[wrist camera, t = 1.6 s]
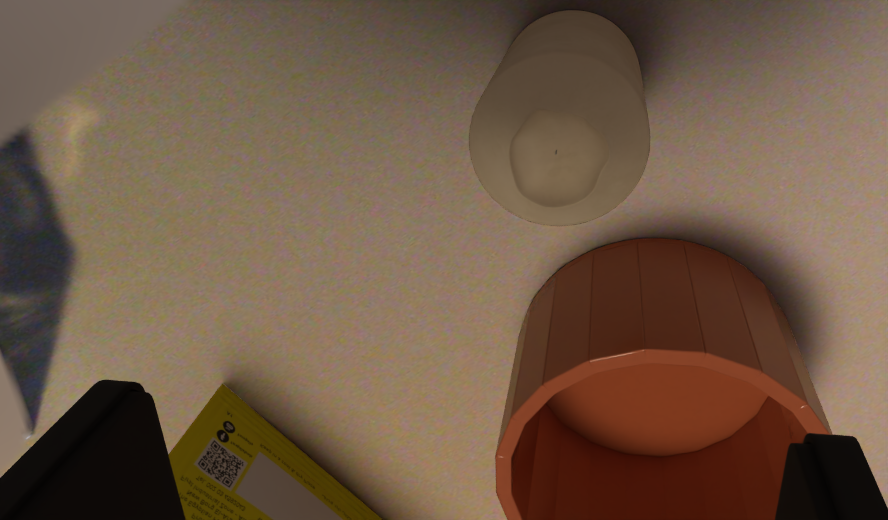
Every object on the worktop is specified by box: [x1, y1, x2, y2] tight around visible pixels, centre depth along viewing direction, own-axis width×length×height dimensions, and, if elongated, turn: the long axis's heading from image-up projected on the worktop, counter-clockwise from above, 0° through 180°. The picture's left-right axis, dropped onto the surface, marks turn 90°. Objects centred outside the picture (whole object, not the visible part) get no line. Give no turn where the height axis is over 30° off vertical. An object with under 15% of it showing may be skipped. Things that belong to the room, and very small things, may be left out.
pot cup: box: [495, 238, 833, 520], centre depth 32 cm, size 12×12×9 cm
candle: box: [469, 10, 650, 226], centre depth 27 cm, size 6×6×10 cm
